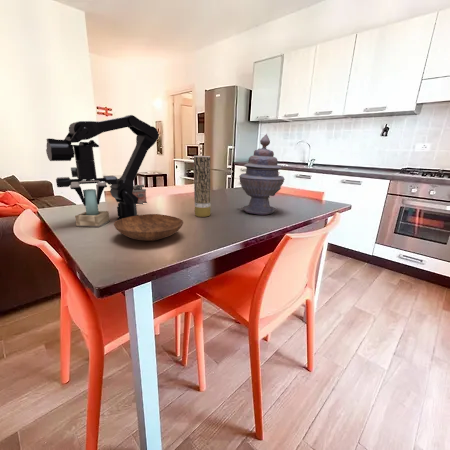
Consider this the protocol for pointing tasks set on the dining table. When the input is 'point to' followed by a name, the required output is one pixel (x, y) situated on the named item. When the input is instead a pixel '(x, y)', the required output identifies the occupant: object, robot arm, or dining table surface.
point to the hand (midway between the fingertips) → (91, 205)
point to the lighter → (140, 194)
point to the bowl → (148, 226)
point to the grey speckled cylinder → (202, 186)
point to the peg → (91, 202)
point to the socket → (92, 219)
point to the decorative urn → (261, 179)
